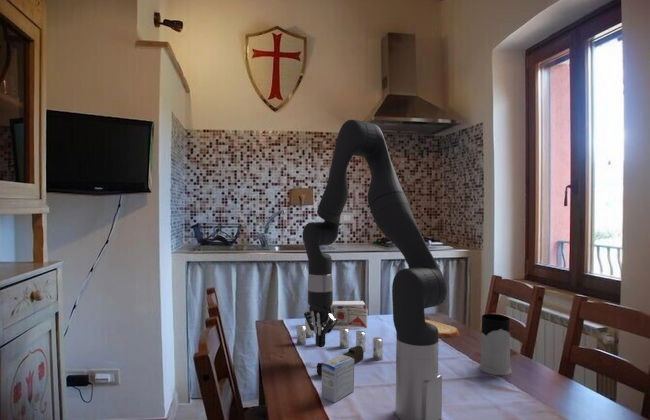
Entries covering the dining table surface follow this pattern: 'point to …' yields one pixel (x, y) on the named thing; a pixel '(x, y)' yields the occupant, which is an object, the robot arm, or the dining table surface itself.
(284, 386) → the dining table surface
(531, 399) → the dining table surface
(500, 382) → the dining table surface
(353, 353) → the dark brown rod
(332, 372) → the medicine box
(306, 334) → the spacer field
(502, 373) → the glass holder
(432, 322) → the bread slice
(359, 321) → the white printed carton
